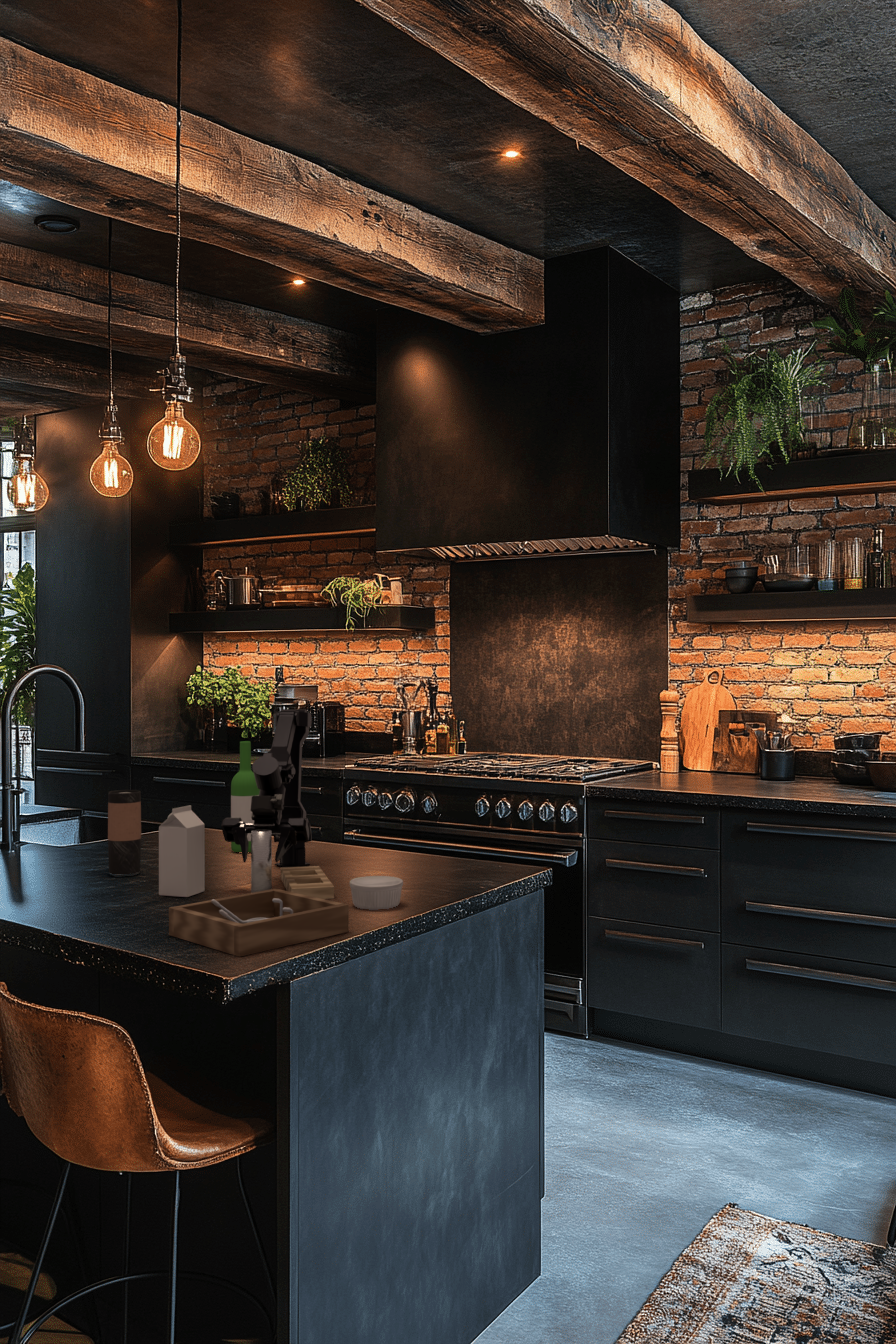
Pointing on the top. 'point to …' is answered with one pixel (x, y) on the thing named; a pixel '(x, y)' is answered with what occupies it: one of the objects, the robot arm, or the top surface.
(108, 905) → the top surface
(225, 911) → the wall mount rack
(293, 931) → the tray
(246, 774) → the wine bottle
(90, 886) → the top surface
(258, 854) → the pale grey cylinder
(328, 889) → the wooden slotted holder
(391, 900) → the ramekin
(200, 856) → the milk carton
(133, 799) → the travel mug
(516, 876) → the top surface
